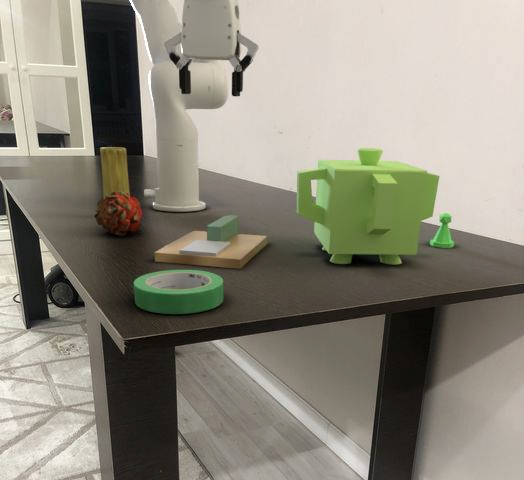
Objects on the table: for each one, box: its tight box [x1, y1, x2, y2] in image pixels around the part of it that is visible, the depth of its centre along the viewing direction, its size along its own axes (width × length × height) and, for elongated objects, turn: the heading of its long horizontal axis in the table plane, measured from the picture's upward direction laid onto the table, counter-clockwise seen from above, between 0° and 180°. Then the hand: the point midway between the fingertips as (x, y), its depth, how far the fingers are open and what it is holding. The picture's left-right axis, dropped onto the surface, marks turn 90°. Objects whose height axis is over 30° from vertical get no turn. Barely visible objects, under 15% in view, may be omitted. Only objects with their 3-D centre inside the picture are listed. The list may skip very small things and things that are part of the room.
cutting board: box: [154, 230, 268, 270], centre depth 95 cm, size 14×18×2 cm
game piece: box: [429, 212, 455, 249], centre depth 103 cm, size 4×4×6 cm
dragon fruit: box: [94, 191, 143, 236], centre depth 107 cm, size 8×8×12 cm
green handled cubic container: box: [296, 147, 440, 265], centre depth 92 cm, size 25×23×17 cm
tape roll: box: [133, 269, 224, 315], centre depth 71 cm, size 11×11×3 cm
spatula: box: [179, 214, 239, 257], centre depth 95 cm, size 19×6×3 cm, turn 166°
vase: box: [99, 146, 131, 199], centre depth 120 cm, size 6×6×14 cm
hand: (210, 95), depth 104 cm, fingers open, 9 cm apart
